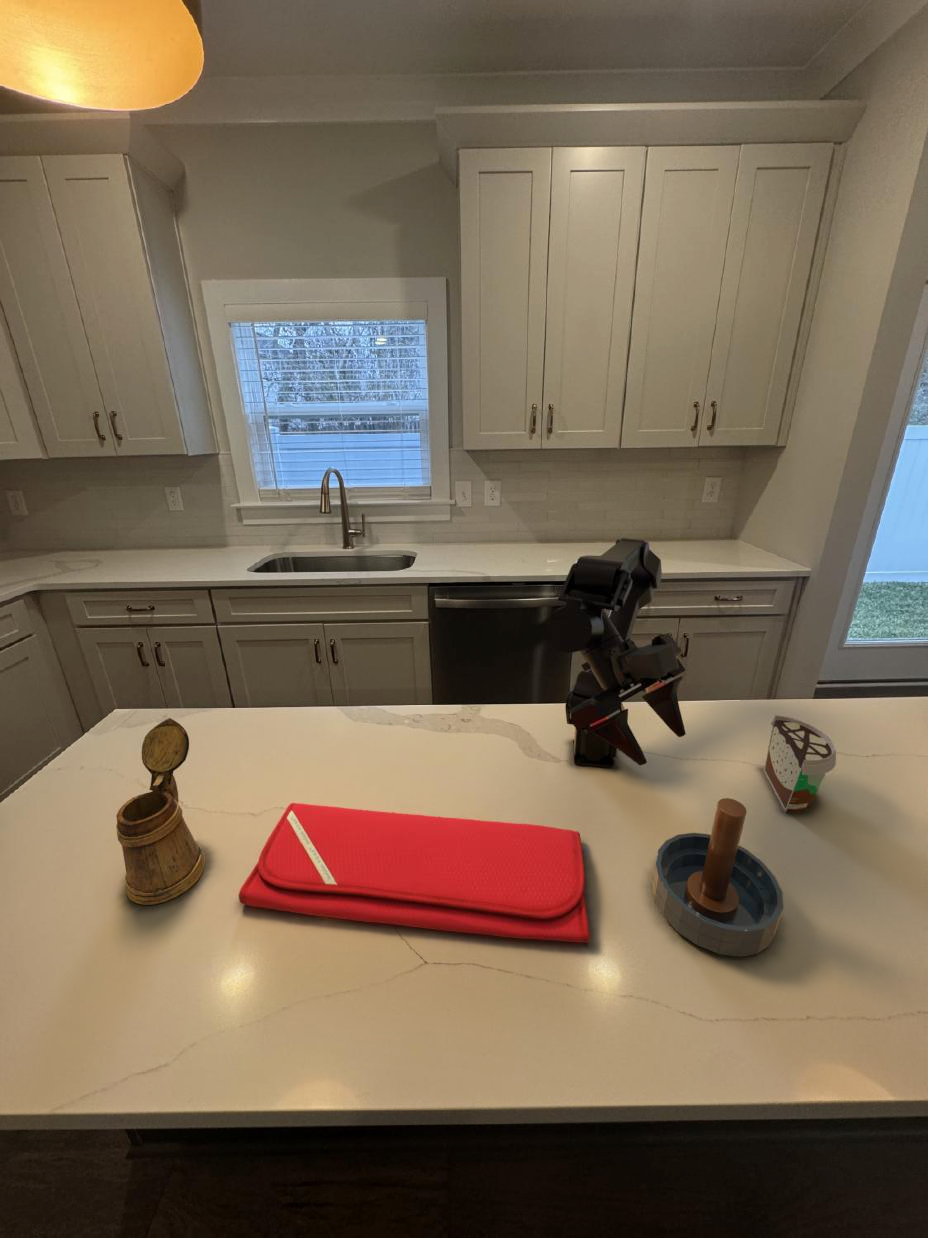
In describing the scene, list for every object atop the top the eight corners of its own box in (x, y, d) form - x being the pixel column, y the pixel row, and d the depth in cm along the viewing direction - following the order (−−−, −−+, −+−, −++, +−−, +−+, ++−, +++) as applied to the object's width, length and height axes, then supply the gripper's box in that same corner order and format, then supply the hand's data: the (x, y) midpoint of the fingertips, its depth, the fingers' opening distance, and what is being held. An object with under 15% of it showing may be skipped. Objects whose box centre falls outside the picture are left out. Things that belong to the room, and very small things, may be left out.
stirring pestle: (691, 917, 58) (711, 823, 53) (680, 877, 63) (698, 786, 58) (743, 925, 57) (770, 829, 52) (728, 883, 62) (751, 792, 57)
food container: (837, 825, 71) (857, 767, 67) (789, 819, 72) (806, 762, 69) (802, 769, 82) (817, 717, 79) (760, 765, 83) (773, 713, 80)
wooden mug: (230, 821, 74) (204, 716, 67) (185, 904, 61) (148, 785, 55) (169, 823, 74) (137, 717, 67) (111, 907, 61) (64, 787, 54)
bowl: (662, 950, 55) (668, 921, 54) (643, 853, 67) (647, 827, 66) (794, 969, 53) (804, 939, 51) (750, 866, 65) (757, 839, 63)
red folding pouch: (590, 951, 55) (593, 927, 54) (238, 912, 60) (232, 889, 59) (578, 839, 70) (580, 818, 68) (295, 815, 75) (291, 795, 73)
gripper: (596, 639, 58) (671, 765, 54) (681, 602, 69) (750, 705, 65) (542, 675, 67) (604, 785, 63) (626, 637, 78) (683, 729, 74)
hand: (663, 749), depth 66 cm, fingers open, 9 cm apart
